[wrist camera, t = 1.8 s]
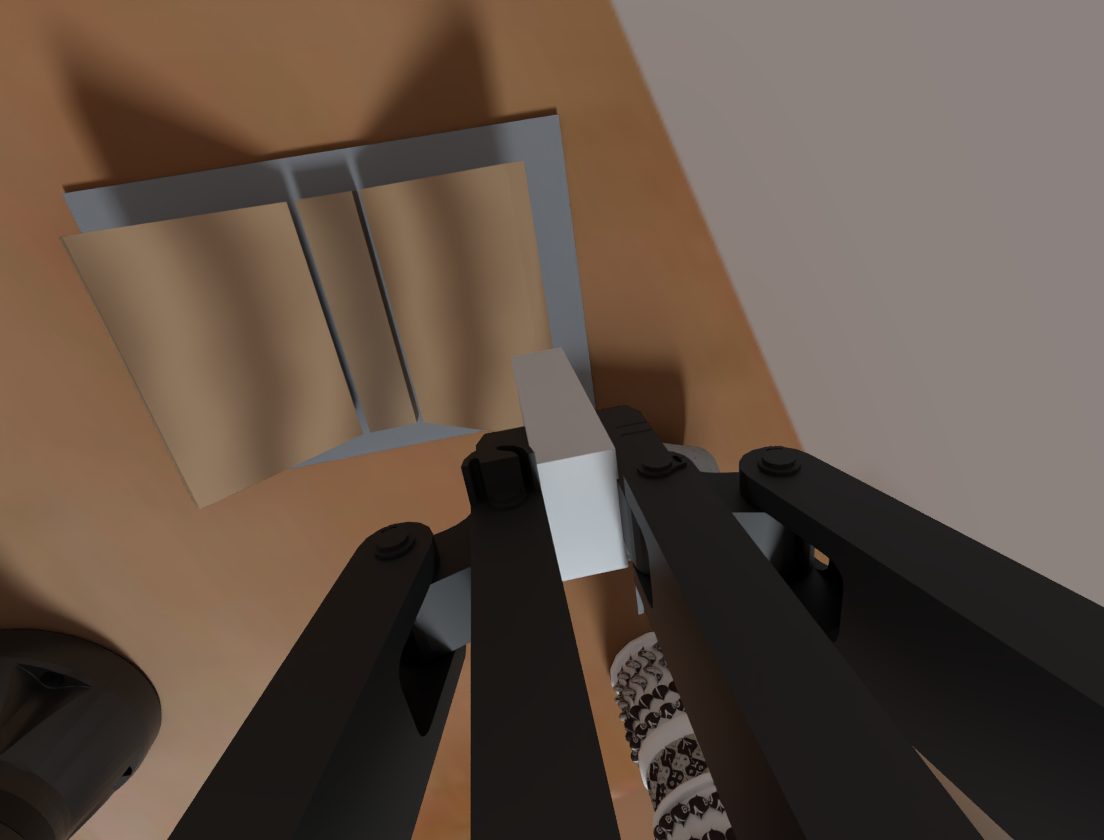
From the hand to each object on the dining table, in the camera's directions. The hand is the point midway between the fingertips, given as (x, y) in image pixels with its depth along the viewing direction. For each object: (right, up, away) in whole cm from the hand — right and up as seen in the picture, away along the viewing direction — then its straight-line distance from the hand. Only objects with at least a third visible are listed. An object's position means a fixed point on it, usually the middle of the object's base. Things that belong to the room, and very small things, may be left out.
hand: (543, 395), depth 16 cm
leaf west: (-16, +3, +12) cm, 20 cm away
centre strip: (-10, +5, +15) cm, 19 cm away
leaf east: (-4, +5, +13) cm, 14 cm away
